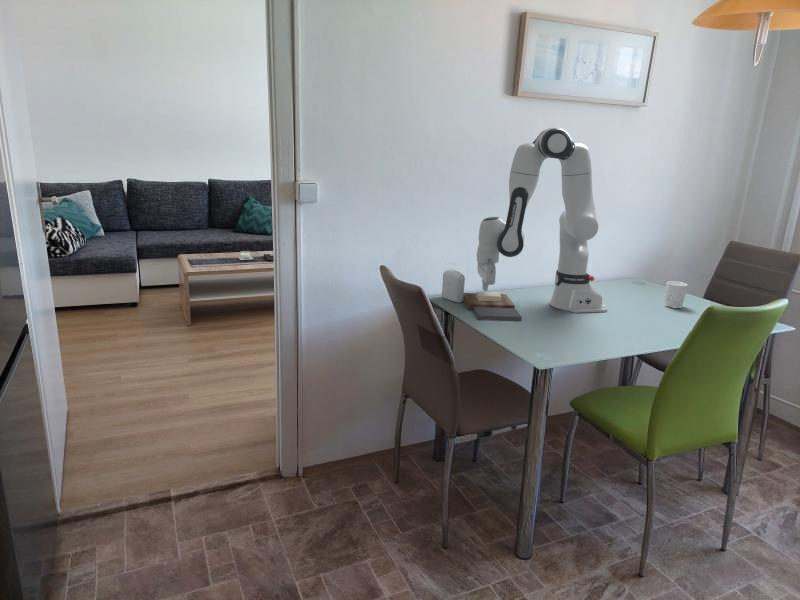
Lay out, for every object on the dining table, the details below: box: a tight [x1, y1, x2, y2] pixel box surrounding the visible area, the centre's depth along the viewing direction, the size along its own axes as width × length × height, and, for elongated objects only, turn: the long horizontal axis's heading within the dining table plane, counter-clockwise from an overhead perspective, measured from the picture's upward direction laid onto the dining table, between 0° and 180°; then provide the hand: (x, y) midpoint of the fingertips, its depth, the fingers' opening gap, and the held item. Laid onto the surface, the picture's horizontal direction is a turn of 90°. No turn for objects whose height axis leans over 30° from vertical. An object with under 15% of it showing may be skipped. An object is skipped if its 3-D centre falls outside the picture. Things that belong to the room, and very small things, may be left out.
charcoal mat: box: [473, 307, 523, 322], centre depth 219 cm, size 16×11×2 cm
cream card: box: [475, 291, 501, 301], centre depth 231 cm, size 9×6×2 cm, turn 92°
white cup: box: [664, 280, 689, 308], centre depth 240 cm, size 8×8×10 cm
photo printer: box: [441, 269, 466, 304], centre depth 236 cm, size 10×4×12 cm, turn 38°
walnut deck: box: [463, 292, 516, 311], centre depth 232 cm, size 18×16×2 cm
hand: (484, 289), depth 239 cm, fingers closed
